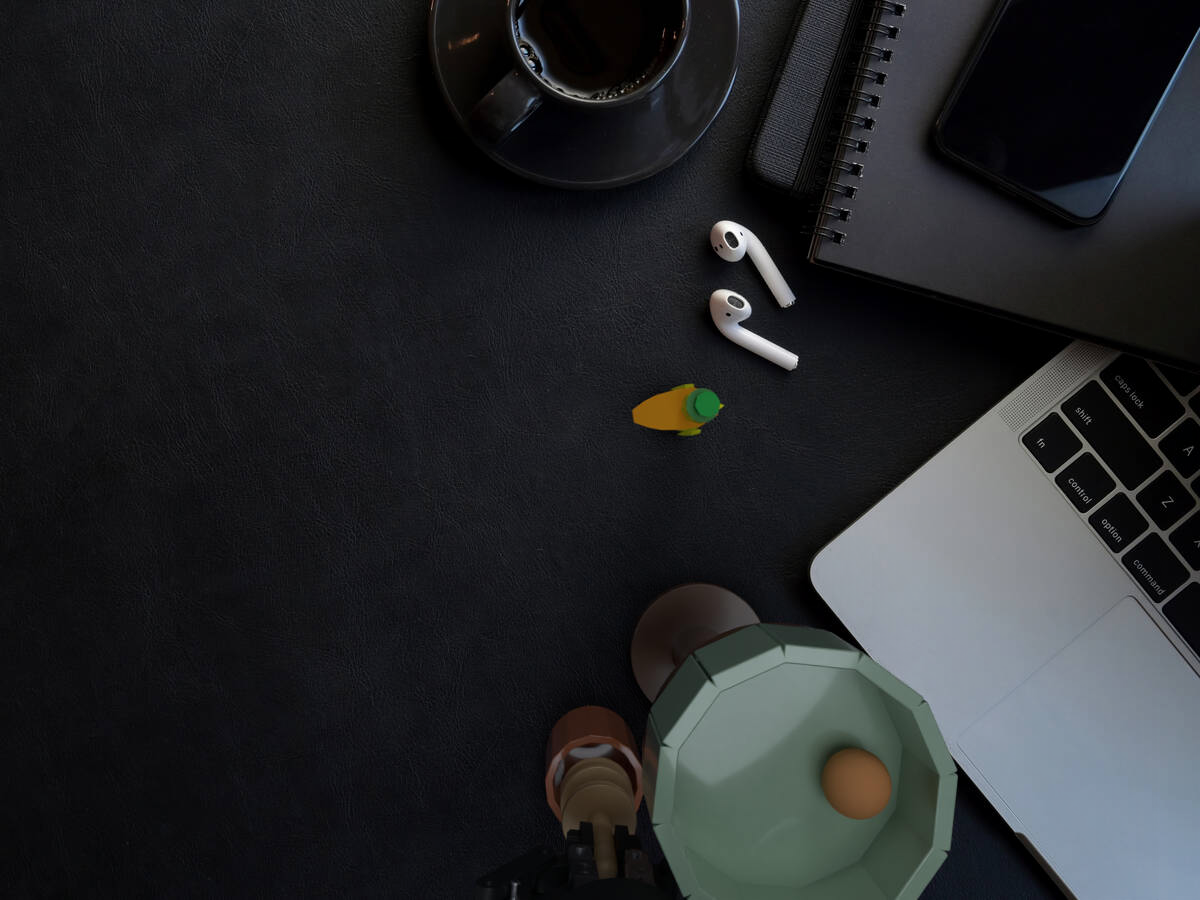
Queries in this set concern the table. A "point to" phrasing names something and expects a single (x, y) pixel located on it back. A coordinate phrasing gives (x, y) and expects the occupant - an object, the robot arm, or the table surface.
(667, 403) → the toy figure
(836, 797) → the ball
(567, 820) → the beige plunger
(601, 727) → the holder
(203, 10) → the table surface
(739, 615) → the brown pedestal stand
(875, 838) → the green bowl
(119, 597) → the table surface
